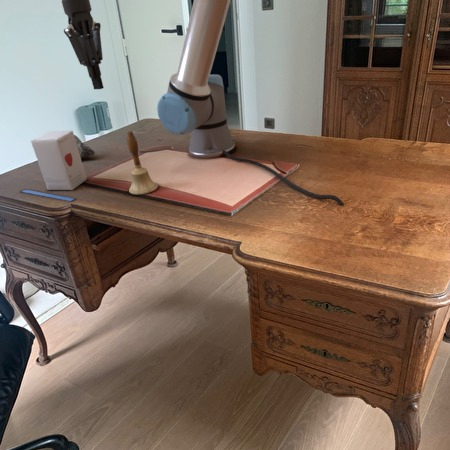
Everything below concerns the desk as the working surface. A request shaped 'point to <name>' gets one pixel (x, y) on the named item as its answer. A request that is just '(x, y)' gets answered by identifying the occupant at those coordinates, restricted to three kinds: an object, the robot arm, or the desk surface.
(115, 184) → the desk surface
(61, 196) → the tape line
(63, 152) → the rectangular carton
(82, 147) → the mineral rock
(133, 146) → the hand bell
